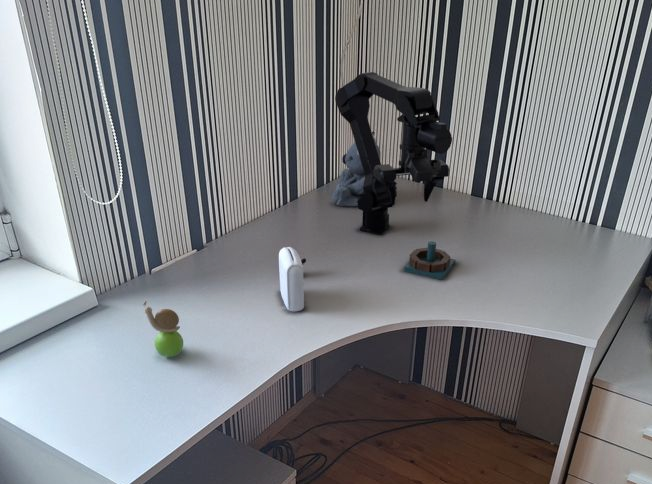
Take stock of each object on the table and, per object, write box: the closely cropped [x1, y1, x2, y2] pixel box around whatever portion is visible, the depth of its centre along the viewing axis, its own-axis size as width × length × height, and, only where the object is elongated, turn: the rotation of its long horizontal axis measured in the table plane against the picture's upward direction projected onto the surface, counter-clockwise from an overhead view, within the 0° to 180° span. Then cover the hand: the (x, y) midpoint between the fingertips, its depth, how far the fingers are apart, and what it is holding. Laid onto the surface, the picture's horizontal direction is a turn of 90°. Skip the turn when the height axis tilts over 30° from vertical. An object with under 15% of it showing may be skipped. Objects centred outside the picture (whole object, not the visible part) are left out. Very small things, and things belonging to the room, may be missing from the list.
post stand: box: [403, 240, 456, 281], centre depth 171 cm, size 10×10×7 cm
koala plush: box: [331, 133, 382, 208], centre depth 206 cm, size 17×18×20 cm
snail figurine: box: [142, 300, 184, 358], centre depth 133 cm, size 5×6×12 cm
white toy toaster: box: [278, 246, 305, 313], centre depth 153 cm, size 10×4×12 cm, turn 17°
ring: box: [408, 247, 451, 272], centre depth 172 cm, size 10×10×2 cm
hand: (409, 203), depth 177 cm, fingers open, 9 cm apart
